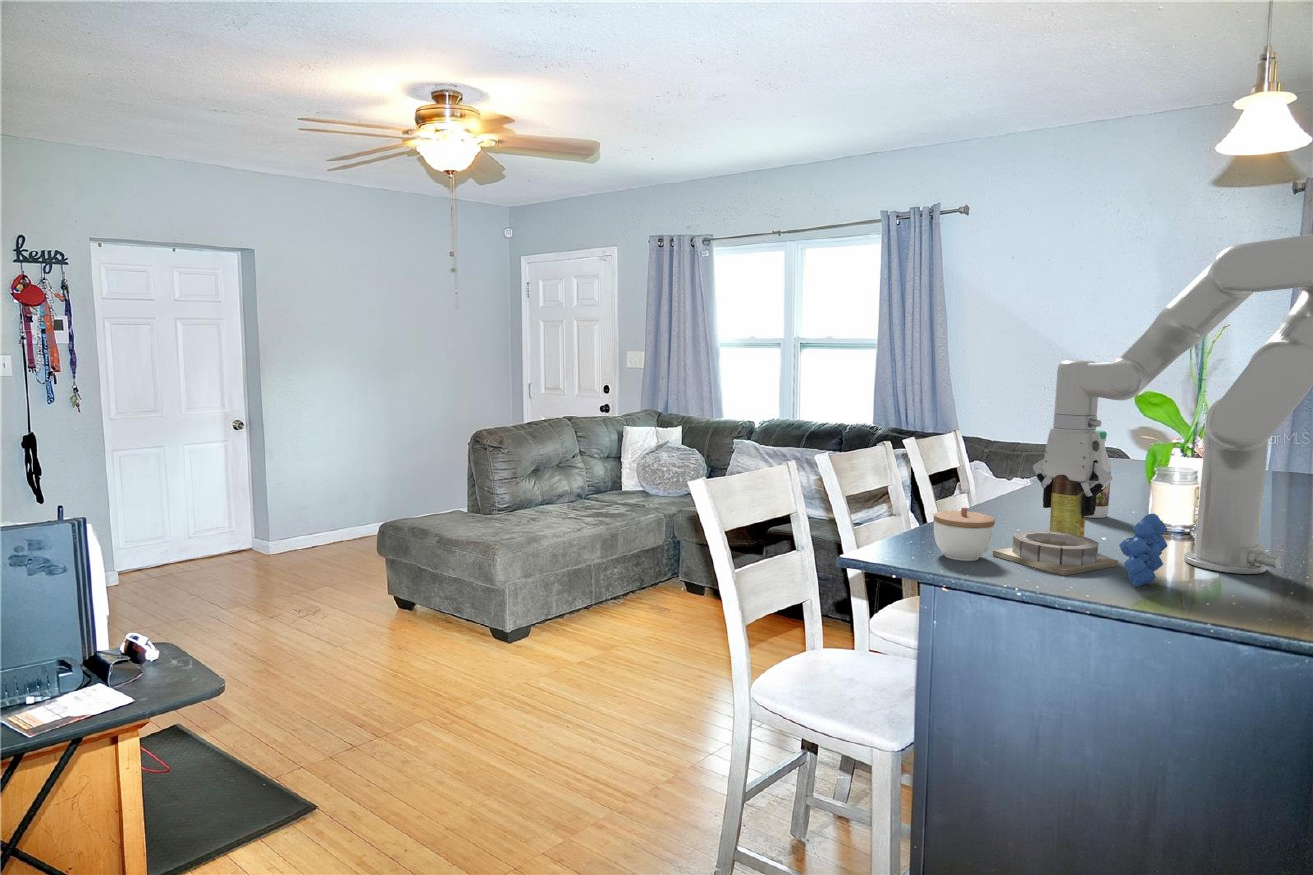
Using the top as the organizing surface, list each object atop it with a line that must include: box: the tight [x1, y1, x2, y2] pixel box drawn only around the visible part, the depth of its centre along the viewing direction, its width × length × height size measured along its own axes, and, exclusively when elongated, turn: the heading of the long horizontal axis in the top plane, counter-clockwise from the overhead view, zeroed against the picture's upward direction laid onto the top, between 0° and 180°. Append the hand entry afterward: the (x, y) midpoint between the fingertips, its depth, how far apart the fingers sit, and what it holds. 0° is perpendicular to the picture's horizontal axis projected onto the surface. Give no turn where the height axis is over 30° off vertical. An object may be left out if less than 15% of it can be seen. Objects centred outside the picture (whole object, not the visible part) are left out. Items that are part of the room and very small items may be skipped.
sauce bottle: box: [1049, 475, 1086, 537], centre depth 169 cm, size 7×6×20 cm
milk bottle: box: [1085, 429, 1112, 519], centre depth 199 cm, size 8×8×20 cm
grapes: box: [1119, 513, 1168, 587], centre depth 143 cm, size 12×7×12 cm, turn 130°
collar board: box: [992, 530, 1119, 577], centre depth 158 cm, size 15×15×4 cm
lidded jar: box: [933, 506, 996, 562], centre depth 159 cm, size 11×11×9 cm
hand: (1068, 510), depth 169 cm, fingers open, 7 cm apart
